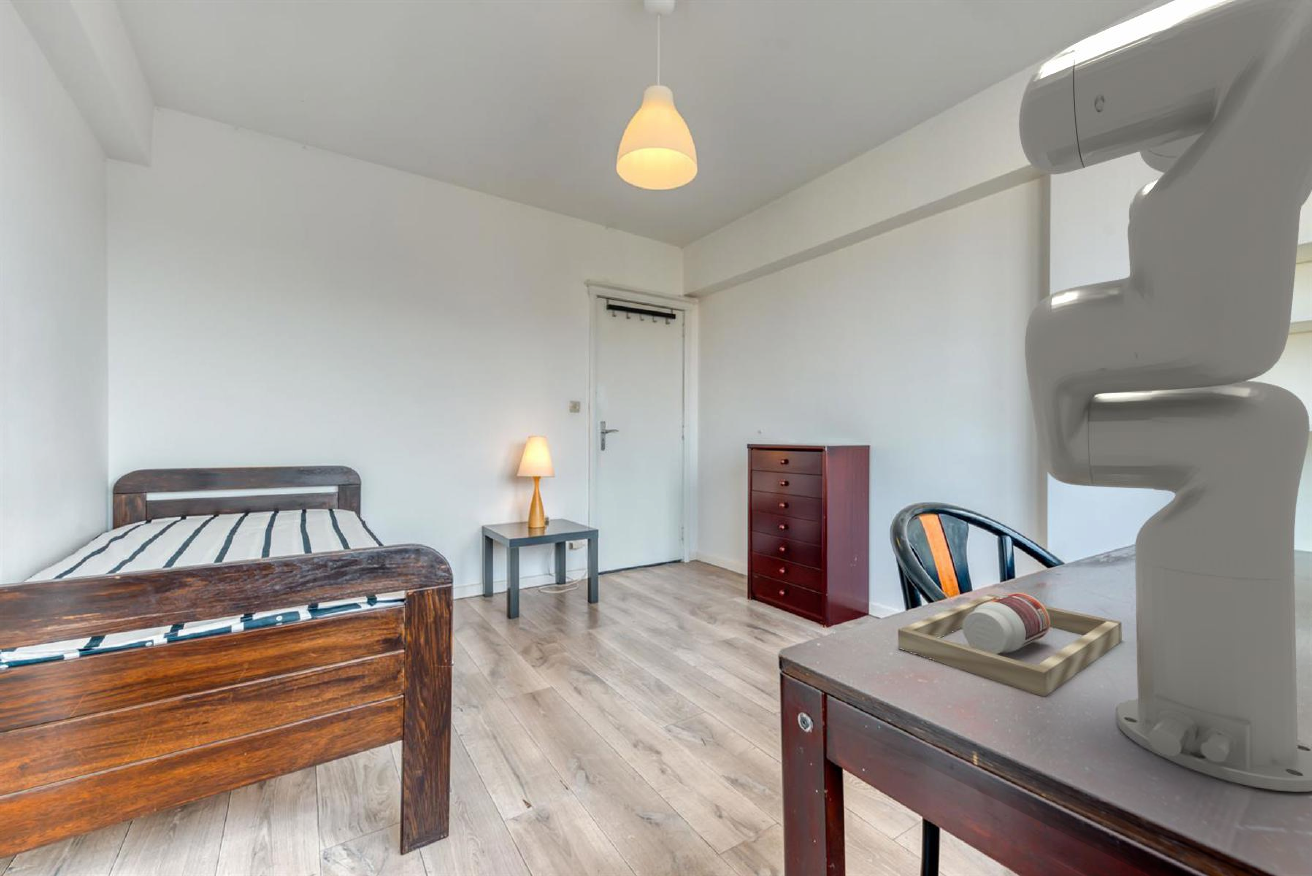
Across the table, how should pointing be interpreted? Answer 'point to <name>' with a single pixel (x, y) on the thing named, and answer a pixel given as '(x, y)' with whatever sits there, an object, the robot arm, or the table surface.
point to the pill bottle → (1006, 623)
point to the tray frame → (1005, 670)
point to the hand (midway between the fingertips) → (1199, 434)
